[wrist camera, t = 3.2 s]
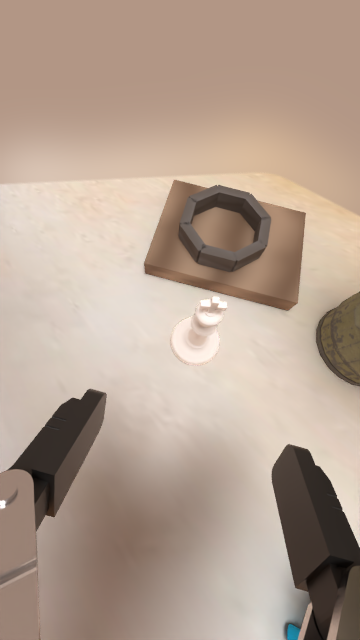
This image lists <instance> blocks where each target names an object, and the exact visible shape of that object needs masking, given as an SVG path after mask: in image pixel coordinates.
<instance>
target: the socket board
mask: <svg viewBox="0 0 360 640" xmlns="http://www.w3.org/2000/svg"><path fill="white" fill-rule="evenodd" d="M249 194H250V193H248V192H244V191H240V190H236V189H232V188H228V187H224V186H220V185H218V186H217V185H215V186H213V187H210V188H205V187H201V186H197V185H193V184H189V183H185V182H181V181H177V180H174V182H173V184H172V187H171V190H170V193H169V195H168V198H167V201H166V204H165V207H164V209H163V212H162V215H161V218H160V221H159V223H158V226H157V229H156V232H155V234H154V237H153V240H152V243H151V246H150V248H149V251H148V254H147V257H146V259H145V262H144V266H145V273H146V274H150V275H154V276H158V277H162V278H166V279H169V280H173V281H177V282H181V283H185V284H188V285H192V286H196V287H200V288H204V289H208V290H211V291H215V292H219V293H223V294H227V295H231V296H234V297H238V298H242V299H246V300H250V301H254V302H257V303H261V304H265V305H269V306H273V307H276V308H280V309H284V310H289V309H290V308H292V307H293V306H294V305H296V304H297V303H298V294H299V282H300V271H301V260H302V249H303V237H304V226H305V215H306V213H304V212H300V211H296V210H292V209H288V208H284V207H280V206H276V205H272V204H268V203H264V202H260V201H257V200H256V199H255V198H254V196H253V195H252V194H250V195H249Z"/></svg>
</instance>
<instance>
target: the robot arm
mask: <svg viewBox="0 0 360 640" xmlns="http://www.w3.org/2000/svg"><path fill="white" fill-rule="evenodd" d="M106 396H107V395H106V393H104V392H100V391H96V390H93V389H88V390H87V392H86V393H85V394H84V396H83V397H82V399H81V400H79V399H76V398H71V399H70V400H68V401H67V402H65V403H64V404H62V405H61V406H60V407H59V408H58V409H57V411H56V412H55V413H54V414H53V416H52V418H50V420H49V421H48V422H47V423H46V425H45V427H43V428H42V430H41V431H40V432H39V433H38V435H37V436H36V437H35V438H34V440H33V441H32V442H31V443H30V445H29V446H28V447H27V449H26V450H25V451H24V452H23V454H22V455H21V456H20V457H19V459H18V460H17V461H16V462H15V463H14V465H13V466H12V467H10V468H9V469H8V470H7V471H5V472H2V473H0V640H41V639H40V615H39V592H38V567H37V542H36V531H37V529H38V527H39V526H40V524H41V522H42V520H43V518H44V517H45V515H48V516H51V517H55V515H56V513H57V511H58V509H59V507H60V505H61V504H62V502H63V500H64V498H65V496H66V494H67V492H68V490H69V488H70V486H71V484H72V482H73V481H74V479H75V477H76V475H77V473H78V471H79V469H80V467H81V465H82V463H83V461H84V460H85V458H86V456H87V454H88V452H89V450H90V448H91V446H92V444H93V442H94V440H95V438H96V437H97V435H98V433H99V431H100V428H101V426H102V422H103V419H104V411H105V404H106ZM272 484H273V488H274V493H275V497H276V502H277V506H278V511H279V516H280V520H281V525H282V529H283V534H284V539H285V543H286V548H287V552H288V557H289V561H290V566H291V571H292V575H293V580H294V584H295V588H297V589H301V590H304V591H308V592H309V595H310V599H311V602H310V604H309V605H308V607H307V610H306V614H305V617H304V620H303V623H302V627H301V630H300V633H299V637H298V640H360V548H359V546H358V543H357V541H356V539H355V536H354V534H353V532H352V529H351V527H350V525H349V523H348V520H347V518H346V516H345V513H344V512H343V511H342V507H341V504H340V502H339V500H338V499H337V495H336V493H335V491H334V488H333V486H332V484H331V481H330V480H329V478H328V477H327V476H326V474H325V473H324V472H323V470H322V469H321V468H320V467H319V466H316V465H315V463H314V460H313V458H312V456H311V453H310V452H309V450H307V449H305V448H301V447H298V446H294V445H290V444H288V445H287V446H286V447H285V448H284V450H283V452H282V453H281V455H280V456H279V458H278V459H277V461H276V463H275V464H274V466H273V469H272Z"/></svg>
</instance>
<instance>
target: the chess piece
mask: <svg viewBox="0 0 360 640" xmlns="http://www.w3.org/2000/svg"><path fill="white" fill-rule="evenodd" d="M226 309H227V302H221V301H219V297H212V299H205V300H201V301H200V302H199V303H198V305H197V306H196V310H195V314H194V315H193V316H192V317H188V318H185V319H183V320H182V321H180V322H179V323H178V324H177V325H176V326H175V328H174V329H173V331H172V334H171V340H170V341H171V348H172V350H173V352H174V354H175V355H176V357H177V358H178V359H179V360H181V361H182V362H184V363H186V364H188V365H193V366H198V365H203V364H206V363H208V362H209V361H211V360H212V359H213V358H214V357H215V355H216V354H217V352H218V349H219V345H220V337H219V333H218V331H217V324H219V323H220V322H221V321H222V319H223V317H224V311H225V310H226Z"/></svg>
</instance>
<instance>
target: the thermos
mask: <svg viewBox="0 0 360 640" xmlns="http://www.w3.org/2000/svg"><path fill="white" fill-rule="evenodd" d="M317 345H318V348H319V352H320V355H321V356H322V358H323V360H324V361H325V363H326V364H327V366H328V367H329V368H330V369H331V370H332V371H333V372H334V373H335V374H336V375H337V376H338V377H340V378H341V379H343V380H345V381H347V382H349V383H350V384H353V385H358V386H360V292H359V293H357V294H355V295H353V296H352V297H350V298H348V299H346V300H345V301H343V302H342V303H341V304H340V306H339V307H337V308H334V309H332V310H330V311H329V312H327V313H326V314H325V315H324V316H323V317H322V319H321V320H320V322H319V325H318V328H317Z"/></svg>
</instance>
